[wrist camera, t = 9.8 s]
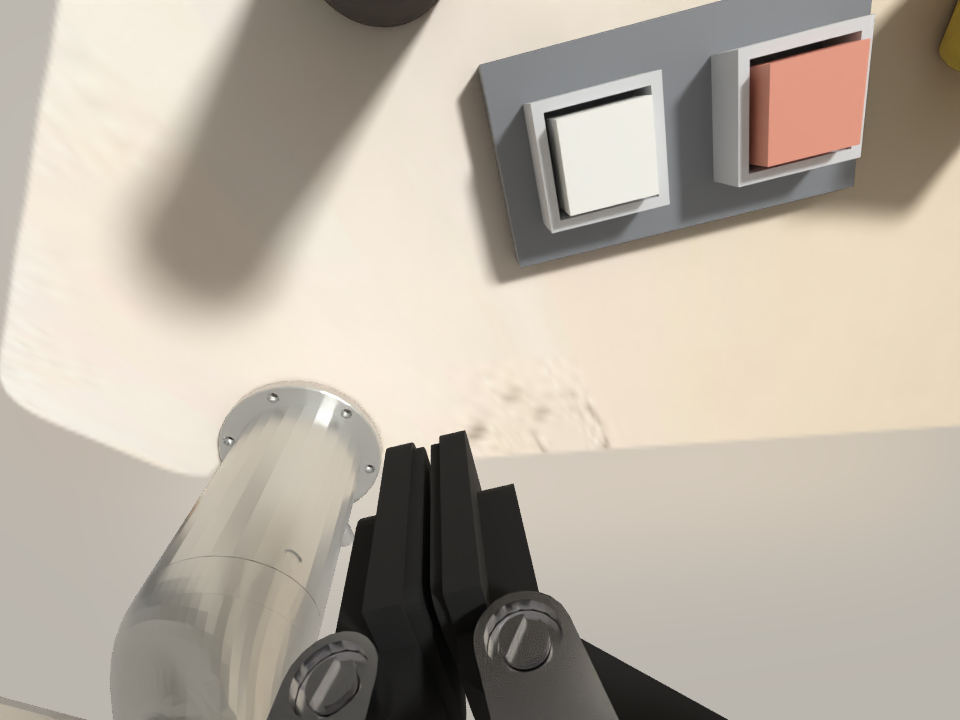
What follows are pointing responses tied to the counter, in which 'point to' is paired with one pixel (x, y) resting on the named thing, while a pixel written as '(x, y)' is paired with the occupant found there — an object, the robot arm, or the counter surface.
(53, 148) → the counter surface
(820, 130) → the brick key
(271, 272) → the counter surface
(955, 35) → the flower pot
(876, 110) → the counter surface
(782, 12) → the push button panel
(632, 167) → the white key
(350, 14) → the container
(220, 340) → the counter surface
